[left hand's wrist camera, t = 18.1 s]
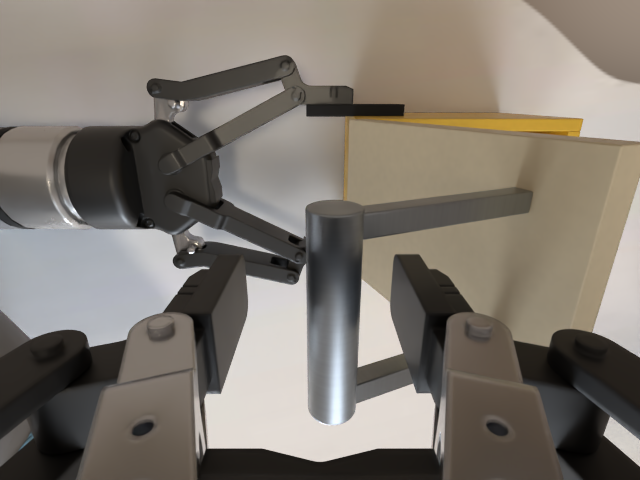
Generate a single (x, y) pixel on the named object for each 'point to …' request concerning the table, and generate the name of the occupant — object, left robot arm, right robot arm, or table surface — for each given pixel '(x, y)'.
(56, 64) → the table surface
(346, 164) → the yellow hollow box
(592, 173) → the lid
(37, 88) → the table surface
